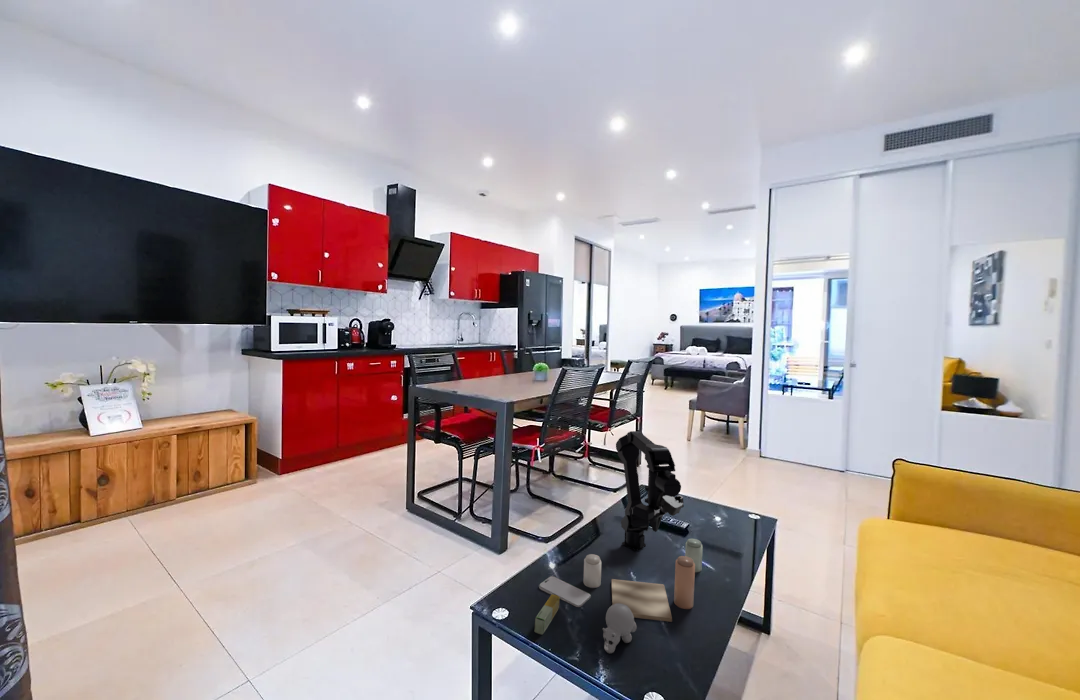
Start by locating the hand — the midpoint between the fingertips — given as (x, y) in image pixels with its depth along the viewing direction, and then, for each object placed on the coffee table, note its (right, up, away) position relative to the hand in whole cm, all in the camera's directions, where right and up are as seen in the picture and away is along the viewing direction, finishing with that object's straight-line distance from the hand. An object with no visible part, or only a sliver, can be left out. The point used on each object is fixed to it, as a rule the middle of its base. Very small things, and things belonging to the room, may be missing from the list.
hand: (655, 531), depth 145 cm
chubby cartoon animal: (-19, -15, -34) cm, 41 cm away
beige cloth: (-9, -14, -17) cm, 23 cm away
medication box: (-36, -14, -26) cm, 47 cm away
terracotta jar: (+4, -14, -17) cm, 22 cm away
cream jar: (-22, -13, -8) cm, 27 cm away
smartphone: (-31, -14, -13) cm, 36 cm away
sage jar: (+13, -13, +2) cm, 19 cm away
